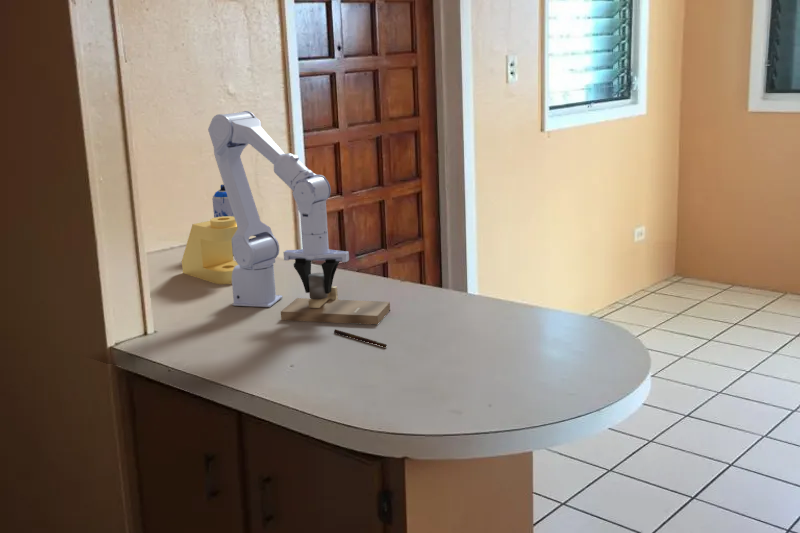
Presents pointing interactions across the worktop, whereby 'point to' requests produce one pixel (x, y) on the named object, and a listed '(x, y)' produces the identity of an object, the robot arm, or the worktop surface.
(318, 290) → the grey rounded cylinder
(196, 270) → the yellow bracket
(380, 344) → the dark notched rod
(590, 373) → the worktop surface
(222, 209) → the aerosol can
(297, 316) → the board
